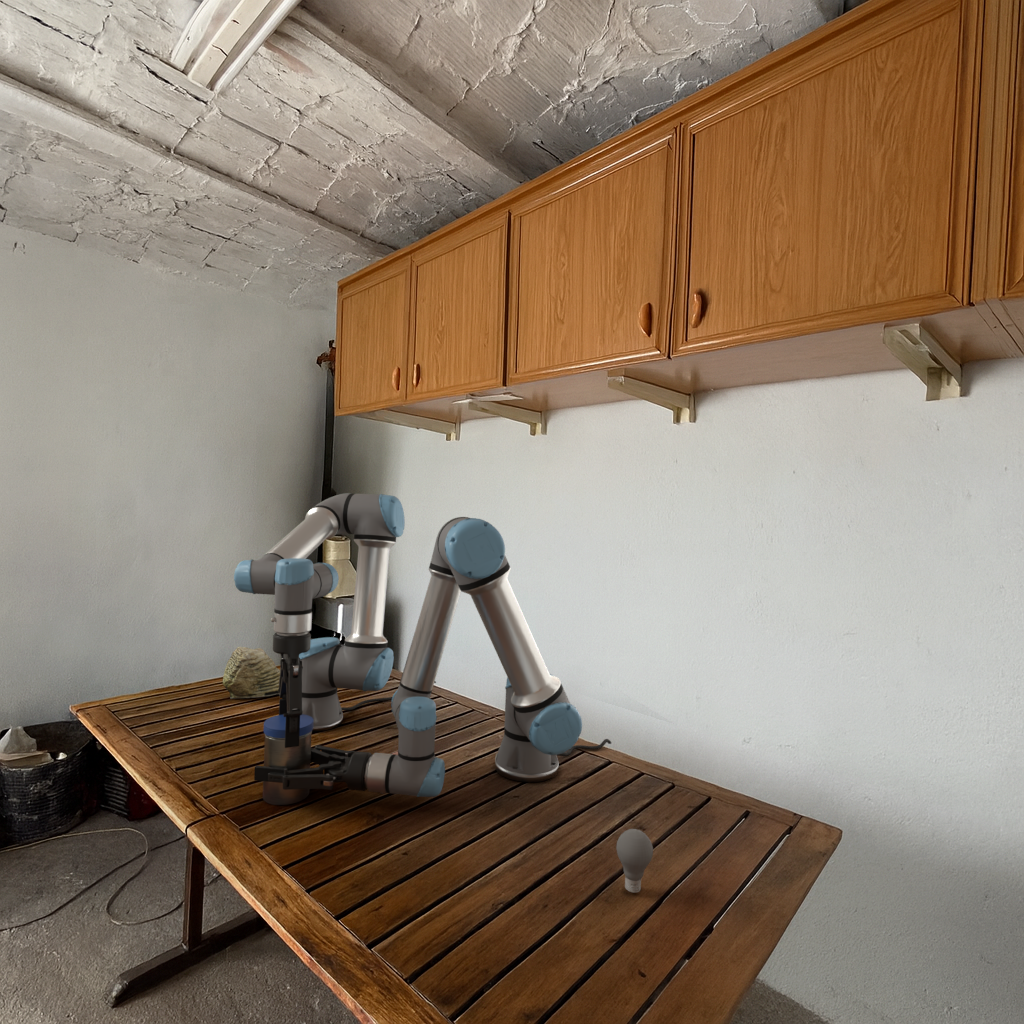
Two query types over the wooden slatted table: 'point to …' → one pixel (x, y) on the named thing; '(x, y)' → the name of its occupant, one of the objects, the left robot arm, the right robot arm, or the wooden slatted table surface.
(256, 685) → the fossil
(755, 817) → the wooden slatted table surface
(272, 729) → the lid
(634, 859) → the light bulb
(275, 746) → the jar
